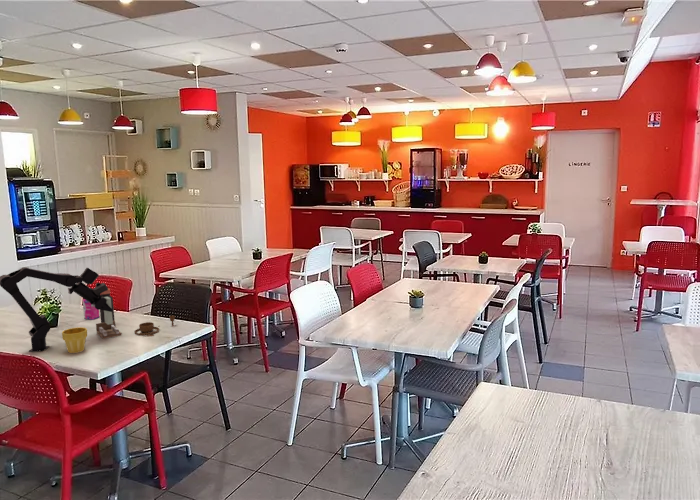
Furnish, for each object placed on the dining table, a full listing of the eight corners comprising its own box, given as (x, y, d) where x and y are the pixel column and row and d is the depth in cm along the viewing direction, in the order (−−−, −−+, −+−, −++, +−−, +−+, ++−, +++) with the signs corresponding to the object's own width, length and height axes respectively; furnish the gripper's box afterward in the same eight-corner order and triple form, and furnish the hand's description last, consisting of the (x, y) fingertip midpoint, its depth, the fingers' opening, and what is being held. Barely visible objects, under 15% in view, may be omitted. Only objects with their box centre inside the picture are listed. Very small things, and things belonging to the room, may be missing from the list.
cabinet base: (121, 335, 264) (120, 325, 263) (102, 338, 259) (101, 329, 258) (115, 329, 274) (114, 320, 273) (96, 333, 268) (95, 323, 267)
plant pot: (92, 350, 242) (90, 329, 241) (69, 356, 235) (66, 335, 233) (83, 345, 249) (81, 325, 248) (60, 351, 242) (58, 330, 240)
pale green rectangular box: (112, 323, 262) (110, 298, 260) (107, 324, 261) (105, 299, 259) (110, 321, 267) (107, 296, 265) (104, 322, 265) (102, 297, 263)
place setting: (135, 329, 275) (135, 318, 275) (175, 325, 282) (174, 314, 281) (133, 339, 259) (132, 328, 258) (175, 334, 265) (174, 323, 264)
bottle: (100, 325, 282) (96, 289, 279) (113, 322, 286) (110, 287, 283) (102, 327, 277) (99, 291, 274) (116, 325, 281) (113, 289, 278)
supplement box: (83, 319, 294) (81, 299, 292) (91, 316, 299) (90, 297, 298) (92, 320, 292) (90, 300, 290) (99, 317, 298) (98, 297, 296)
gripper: (100, 281, 250) (126, 300, 259) (92, 276, 265) (117, 293, 273) (84, 300, 247) (110, 318, 255) (76, 293, 262) (102, 310, 270)
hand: (110, 309), depth 264 cm, fingers closed on pale green rectangular box, 6 cm apart
